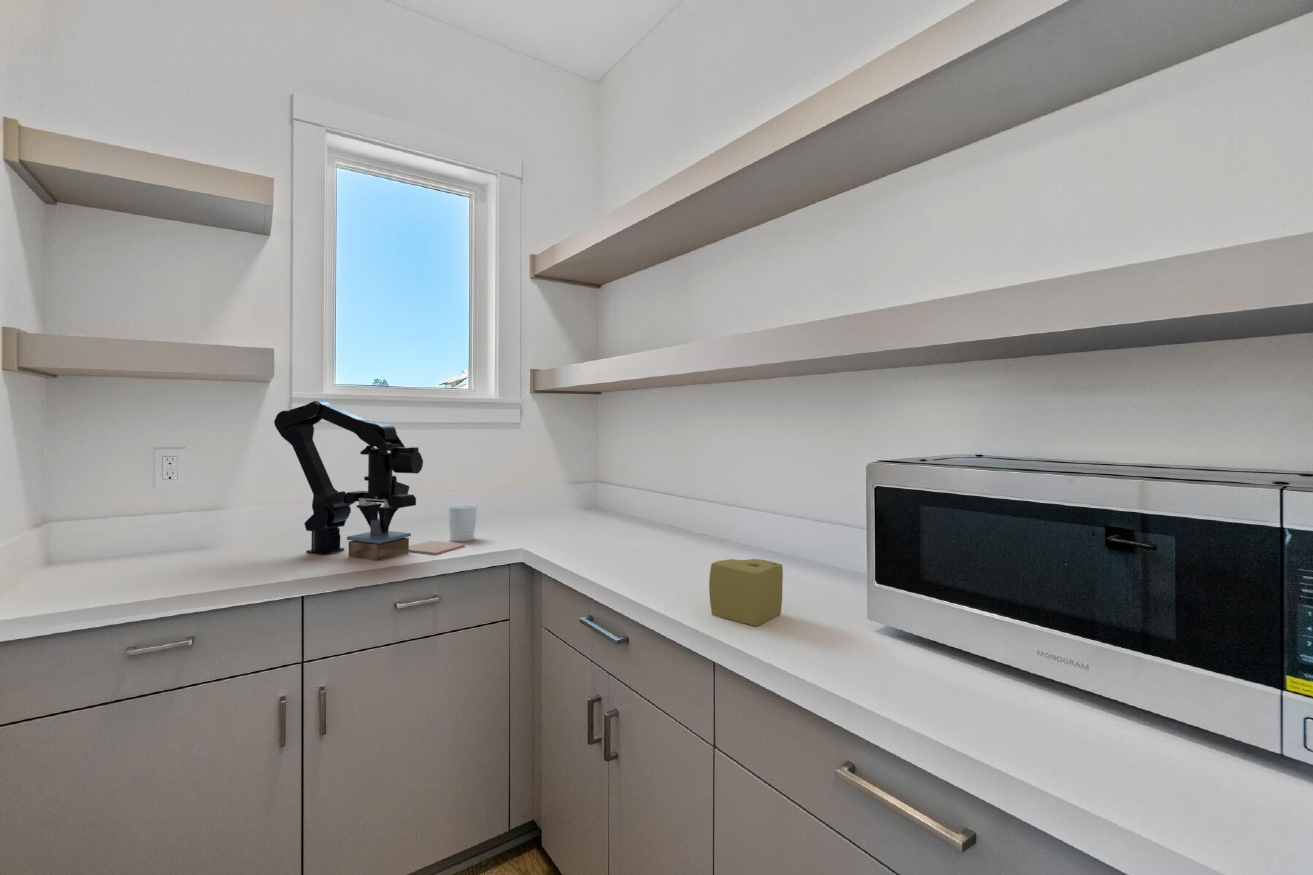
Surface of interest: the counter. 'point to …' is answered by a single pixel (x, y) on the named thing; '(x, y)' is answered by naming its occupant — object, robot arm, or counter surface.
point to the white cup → (462, 522)
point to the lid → (378, 534)
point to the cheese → (746, 590)
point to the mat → (434, 547)
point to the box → (378, 549)
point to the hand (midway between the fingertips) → (379, 532)
